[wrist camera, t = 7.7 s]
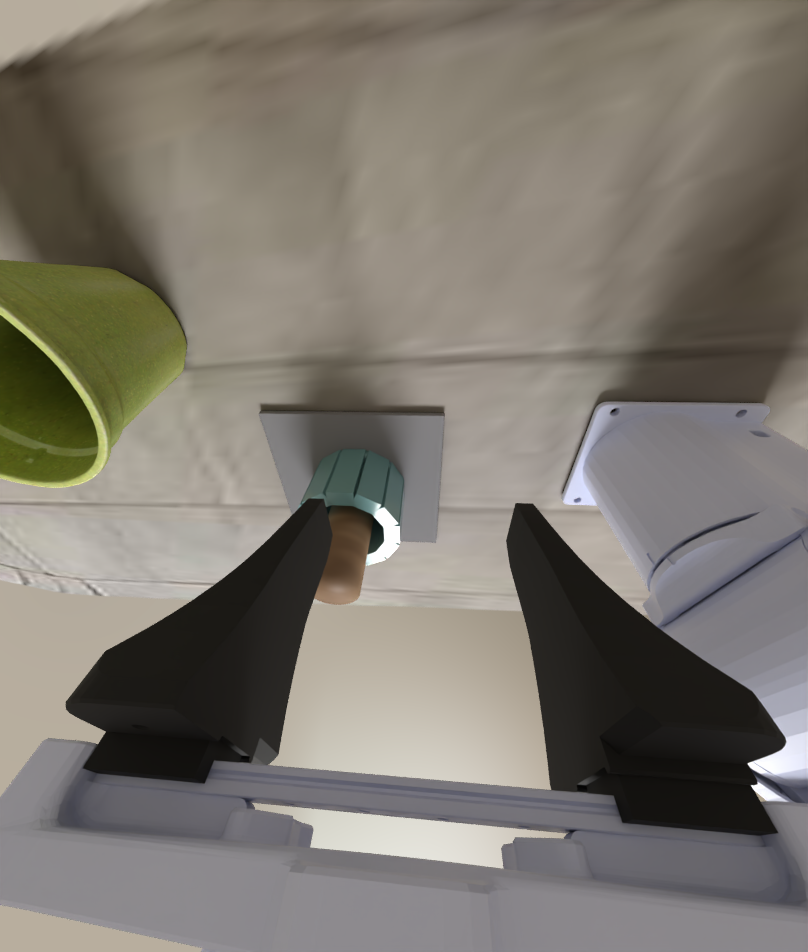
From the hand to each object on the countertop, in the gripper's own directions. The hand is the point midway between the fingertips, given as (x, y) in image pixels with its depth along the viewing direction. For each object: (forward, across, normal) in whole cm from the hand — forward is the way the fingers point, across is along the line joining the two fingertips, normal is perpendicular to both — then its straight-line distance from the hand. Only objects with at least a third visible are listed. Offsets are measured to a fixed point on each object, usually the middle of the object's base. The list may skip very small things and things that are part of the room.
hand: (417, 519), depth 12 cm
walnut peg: (+9, +5, +6) cm, 12 cm away
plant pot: (+10, +17, -5) cm, 20 cm away
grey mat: (+10, +5, +6) cm, 13 cm away
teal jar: (+10, +5, +6) cm, 12 cm away
